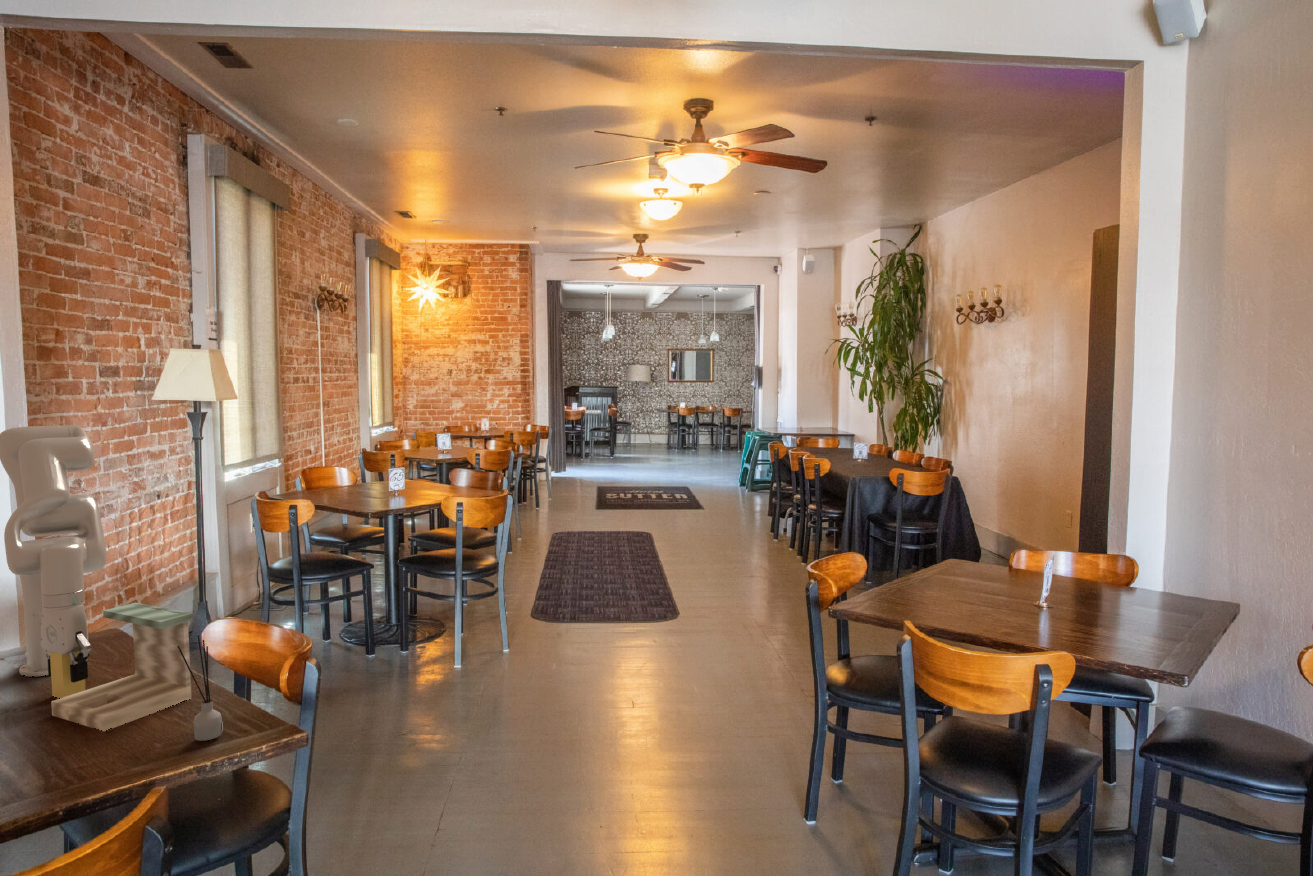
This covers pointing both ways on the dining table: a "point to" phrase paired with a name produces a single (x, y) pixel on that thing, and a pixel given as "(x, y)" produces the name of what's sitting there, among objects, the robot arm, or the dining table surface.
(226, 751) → the dining table surface
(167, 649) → the green-topped stand
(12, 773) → the dining table surface
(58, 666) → the peg
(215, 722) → the reed diffuser
